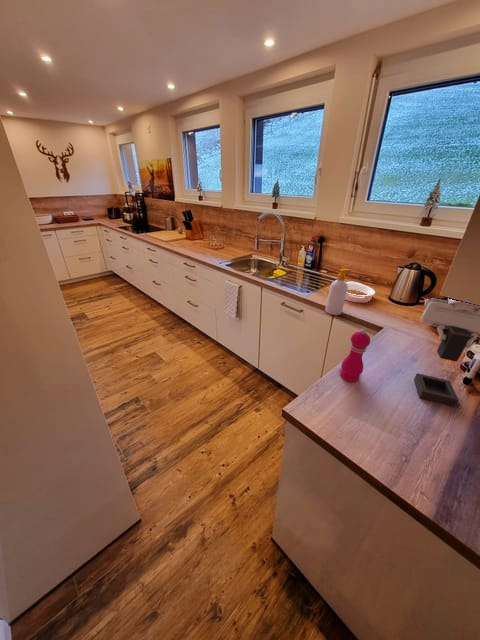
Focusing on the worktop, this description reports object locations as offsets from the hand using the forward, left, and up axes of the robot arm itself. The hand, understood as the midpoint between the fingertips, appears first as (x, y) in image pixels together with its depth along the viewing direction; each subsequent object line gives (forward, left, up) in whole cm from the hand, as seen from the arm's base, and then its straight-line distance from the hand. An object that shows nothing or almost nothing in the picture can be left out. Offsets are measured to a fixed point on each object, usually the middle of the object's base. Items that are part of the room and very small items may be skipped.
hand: (454, 343), depth 82 cm
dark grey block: (0, -1, -5) cm, 5 cm away
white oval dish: (+26, -78, -19) cm, 85 cm away
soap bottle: (+36, -49, -19) cm, 64 cm away
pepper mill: (+27, +5, -19) cm, 33 cm away
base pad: (0, +2, -19) cm, 19 cm away
